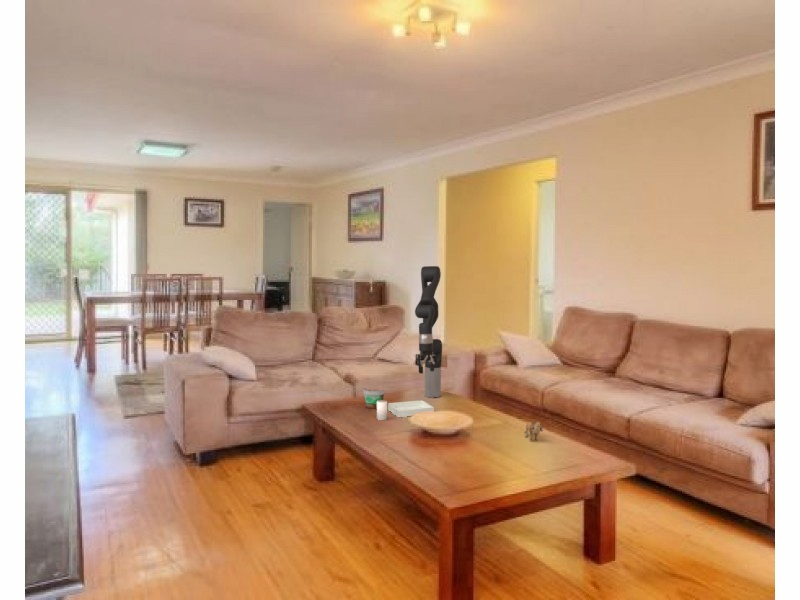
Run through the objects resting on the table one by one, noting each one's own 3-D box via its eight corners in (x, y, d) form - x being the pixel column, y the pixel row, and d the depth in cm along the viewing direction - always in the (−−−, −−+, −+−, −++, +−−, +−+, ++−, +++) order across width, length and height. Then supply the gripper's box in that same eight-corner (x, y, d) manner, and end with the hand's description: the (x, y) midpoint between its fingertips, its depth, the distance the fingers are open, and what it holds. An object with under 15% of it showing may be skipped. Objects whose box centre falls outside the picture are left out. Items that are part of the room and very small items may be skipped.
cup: (375, 418, 278) (375, 400, 277) (385, 417, 280) (385, 399, 279) (378, 421, 273) (378, 403, 272) (388, 420, 275) (388, 402, 274)
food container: (359, 408, 295) (359, 390, 294) (364, 405, 301) (364, 387, 300) (380, 411, 290) (380, 392, 290) (385, 408, 296) (385, 389, 295)
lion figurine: (544, 443, 241) (545, 423, 240) (533, 444, 240) (534, 424, 239) (529, 433, 255) (529, 414, 255) (518, 434, 254) (519, 414, 253)
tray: (388, 409, 293) (388, 403, 293) (422, 406, 300) (422, 400, 300) (397, 417, 279) (398, 411, 278) (433, 414, 285) (434, 407, 285)
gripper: (429, 340, 306) (430, 370, 306) (411, 343, 296) (412, 373, 296) (440, 341, 300) (440, 371, 300) (421, 343, 290) (422, 374, 291)
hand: (426, 372), depth 298 cm, fingers open, 8 cm apart
